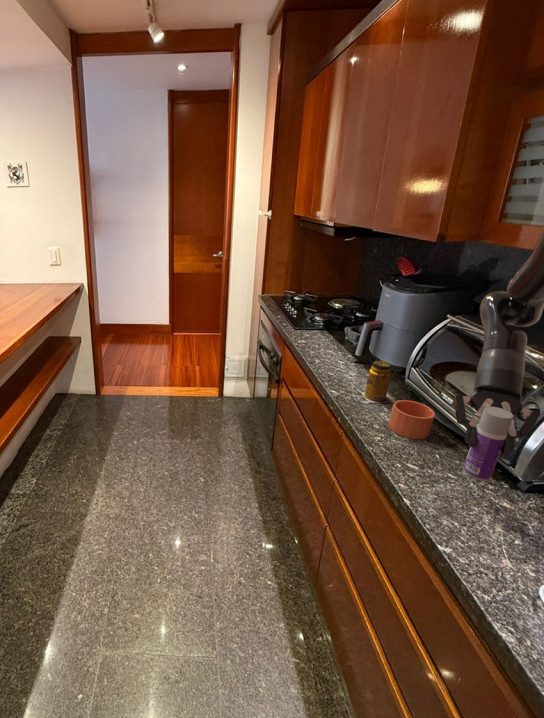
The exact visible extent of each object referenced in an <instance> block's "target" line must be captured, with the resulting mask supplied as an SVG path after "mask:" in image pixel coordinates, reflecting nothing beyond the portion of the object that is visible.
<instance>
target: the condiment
mask: <svg viewBox="0 0 544 718" xmlns="http://www.w3.org/2000/svg"><path fill="white" fill-rule="evenodd" d="M392 367H393V365H392V364H391V363H390V362H387V361H385V360H375V361H373V362H372V364H371V368H370V369H369V372H368V376H367V382H366V385H365V391H360V393H361V396H362V397H363V398H364V399H365V400H366V402H367V403H373V404H394V403H395V402H396V401H395V400H394V399H393V398H392V397H391V395H389V393H388V390H389V387H390V386H389V385H390V381H391V378H392Z"/></svg>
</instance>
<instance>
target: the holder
mask: <svg viewBox="0 0 544 718" xmlns="http://www.w3.org/2000/svg"><path fill="white" fill-rule="evenodd" d="M391 408H392V409H391V412H390V416H389V419H388V427H389V429H390V430H391V431H393V432H394V433H395V434H397V435H399V436H402V437H404V438H407V439H412V440H423V439H426V438H428V436H429V435H430V432H431V428H432V426H433V422H434V419H435V416H436V412H435V411H434V409H432V408H431V407H429V406H428V405H427V404H424V403H421V402H418V401H414V400H407V399H400V400H397V401H395V403H392V407H391Z"/></svg>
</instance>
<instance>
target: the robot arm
mask: <svg viewBox="0 0 544 718" xmlns="http://www.w3.org/2000/svg"><path fill="white" fill-rule="evenodd" d="M543 311H544V230H543V231H542V232H541V234H540V237H539V238H538V240H537V243H536V244H535V246H534V248H533V250H532V251H531V253H530V254H529V256H528V257H527V258H526V260H525V261H524V262H523V263H522V265H521V266H520V267H519V268H518V270H517V271H516V272H515V273H514V275H512V277H511V278H510V280H509V281H508V283H507V285H506V291H502V290H495V291H491V292H489V293H487V294H486V295H485V296H484V297H483V298H482V299H481V302H480V305H479V317H480V321H481V325H482V329H483V337H484V339H483V345H482V350H481V356H480V358H479V361H478V365H477V367H476V376H475V382H474V387H473V392H472V394H471V395H462V394H460V393H458V394H456V395H455V397H454V398H453V405H454V412H455V418H456V423H457V424H458V425H460V426H463V427H464V428H466V429H465V436H464V443H465V444H467V447H469V448H470V447H473V446H474V444H475V438H476V432H477V427H478V424H479V421H480V419H481V416H482V414H483V411H484V408H486V407H497V408H501V409H504V410H507V411H509V412H510V413H512V414H513V417H514V416H516V415H517V414H519V413H520V414H521V419H522V420H524V421H523V423H522V425H521V427H520V429H519V430H516V427H515V420H514V418H513V419H512V422H511V425H510V428H509V431H508V434H507V437H506V439H505V442H504V445H503V447H502V450H501V453H500V456H503V457H507V456H508V455H511V454H512V453H513V452H514V450H515V449H514V448H515V441H516V440H517V439H519V440H524V439H525V438H526V437H529V435H530V434H531V432H532V430H533V428H534V427H535V425H536V423H537V421H538V420H539V418H540V416H541V412H540V411H539V410H537V409H533V410H531V409H529V408H525V407H524V405H523V403H522V400H521V399H522V392H523V385H524V377H525V372H526V371H525V370H526V362H525V360H526V351H527V345H528V336H527V334H526V333H525V332H524V331H522V330H521V329H518V328H515V327H520V328H525V327H531V326H532V325H535V324H536V323H537V322H538V321H540V319H541V317H542V314H543ZM513 326H514V327H513ZM468 403H470V404H471V406H472V407H473V409H474V410H475V414H474V415H473V416H472V417H471V419H469V418H468V417H467V414H466V413H467V412H466V409H465V407H466V406H467V405H468Z"/></svg>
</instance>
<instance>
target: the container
mask: <svg viewBox="0 0 544 718" xmlns="http://www.w3.org/2000/svg"><path fill="white" fill-rule="evenodd" d="M512 419H513V420H514V416H513V414H512V413H510V412H509V411H507V410H504V409H501V408H497V407H486V408H484V411H483V414H482V416H481V419H480V421H479V423H478V424H477V426H476V428H477V432H476V438H475V444H474V446H473V447H469V449H468V453H467V456H466V458H465V462H464V465H463V468H462V470H463V473H464V474H465V475H467V476H468V477H470V478H472V479H474V480H478V481H481V482H487V481H490V480H491V479H492V476H493V473H494V471H495V468H496V466H497V463H498V461H499V458H500V456H501V450H502V447H503V445H504V442H505V439H506V437H507V434H508V431H509V428H510V425H511V422H512Z"/></svg>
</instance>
